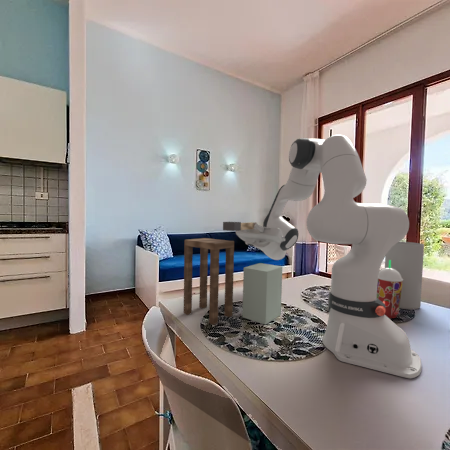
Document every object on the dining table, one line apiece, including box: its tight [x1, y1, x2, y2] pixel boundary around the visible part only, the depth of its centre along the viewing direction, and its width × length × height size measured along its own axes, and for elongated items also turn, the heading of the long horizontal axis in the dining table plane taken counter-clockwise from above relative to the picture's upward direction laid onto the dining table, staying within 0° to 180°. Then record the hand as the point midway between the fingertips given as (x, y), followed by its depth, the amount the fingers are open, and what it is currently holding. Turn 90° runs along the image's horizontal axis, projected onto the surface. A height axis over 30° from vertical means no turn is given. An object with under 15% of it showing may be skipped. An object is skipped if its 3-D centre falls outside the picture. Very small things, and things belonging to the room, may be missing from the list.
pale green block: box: [242, 262, 283, 326], centre depth 90 cm, size 9×11×17 cm
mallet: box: [222, 221, 257, 232], centre depth 98 cm, size 17×5×3 cm, turn 142°
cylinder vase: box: [384, 241, 425, 311], centre depth 104 cm, size 12×12×25 cm
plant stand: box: [183, 237, 235, 326], centre depth 90 cm, size 14×10×26 cm
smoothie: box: [377, 260, 403, 319], centre depth 93 cm, size 8×8×20 cm
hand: (250, 224), depth 103 cm, fingers closed on mallet, 2 cm apart
